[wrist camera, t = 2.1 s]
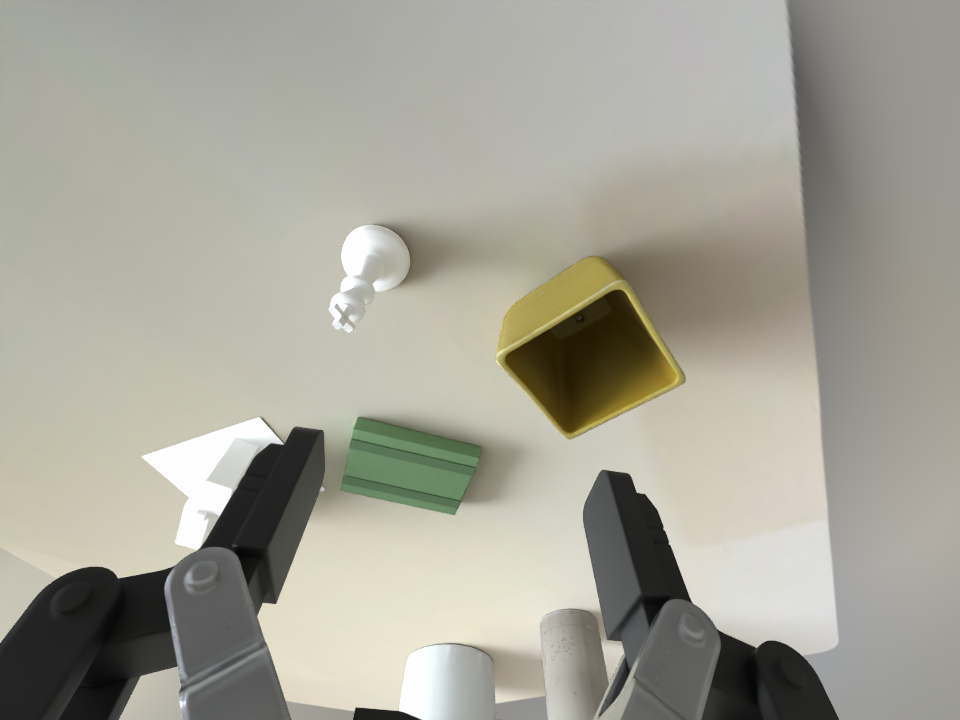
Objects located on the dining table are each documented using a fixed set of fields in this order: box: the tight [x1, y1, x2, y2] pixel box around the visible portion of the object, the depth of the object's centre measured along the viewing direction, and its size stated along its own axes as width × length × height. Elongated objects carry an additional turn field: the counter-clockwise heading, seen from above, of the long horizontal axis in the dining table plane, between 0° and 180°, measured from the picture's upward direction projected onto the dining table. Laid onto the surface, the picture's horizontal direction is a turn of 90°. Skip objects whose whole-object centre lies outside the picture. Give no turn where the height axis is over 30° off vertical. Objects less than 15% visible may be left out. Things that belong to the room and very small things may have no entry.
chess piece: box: [328, 225, 410, 333], centre depth 29 cm, size 5×5×10 cm
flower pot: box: [496, 256, 686, 439], centre depth 31 cm, size 9×9×9 cm
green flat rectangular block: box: [341, 417, 480, 515], centre depth 44 cm, size 12×9×2 cm
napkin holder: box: [142, 417, 325, 550], centre depth 44 cm, size 15×11×6 cm
